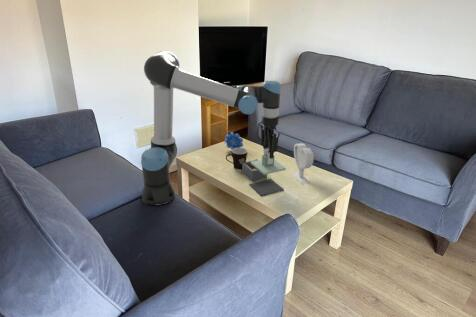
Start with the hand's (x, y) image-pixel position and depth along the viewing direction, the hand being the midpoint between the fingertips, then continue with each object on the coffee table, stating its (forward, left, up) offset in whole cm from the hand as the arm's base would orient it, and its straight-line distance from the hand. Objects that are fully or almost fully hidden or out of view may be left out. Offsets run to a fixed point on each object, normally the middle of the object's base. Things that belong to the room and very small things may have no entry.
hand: (268, 162), depth 166 cm
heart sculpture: (+22, +1, -15) cm, 26 cm away
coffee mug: (-3, +27, -15) cm, 31 cm away
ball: (+1, +14, -12) cm, 18 cm away
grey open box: (+1, +14, -14) cm, 20 cm away
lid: (0, 0, -3) cm, 3 cm away
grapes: (+5, +47, -15) cm, 49 cm away
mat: (0, 0, -14) cm, 14 cm away
